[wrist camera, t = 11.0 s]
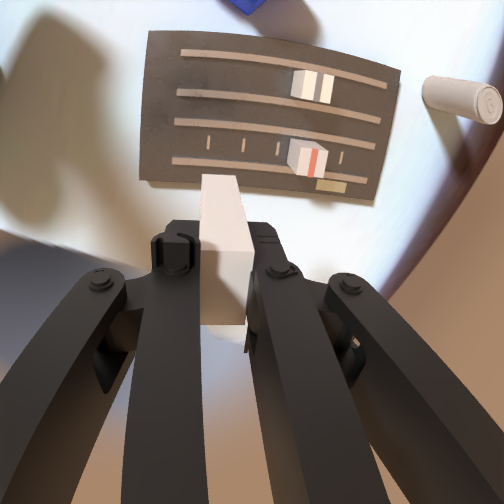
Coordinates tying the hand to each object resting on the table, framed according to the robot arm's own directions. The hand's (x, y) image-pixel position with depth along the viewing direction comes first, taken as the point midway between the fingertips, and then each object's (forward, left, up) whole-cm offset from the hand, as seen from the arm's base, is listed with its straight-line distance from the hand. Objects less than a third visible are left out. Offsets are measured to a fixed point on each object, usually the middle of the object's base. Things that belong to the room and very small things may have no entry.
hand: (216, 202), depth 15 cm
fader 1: (+9, +6, -23) cm, 25 cm away
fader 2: (+10, -2, -23) cm, 25 cm away
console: (+6, +2, -25) cm, 26 cm away
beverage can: (+28, +10, -25) cm, 39 cm away
